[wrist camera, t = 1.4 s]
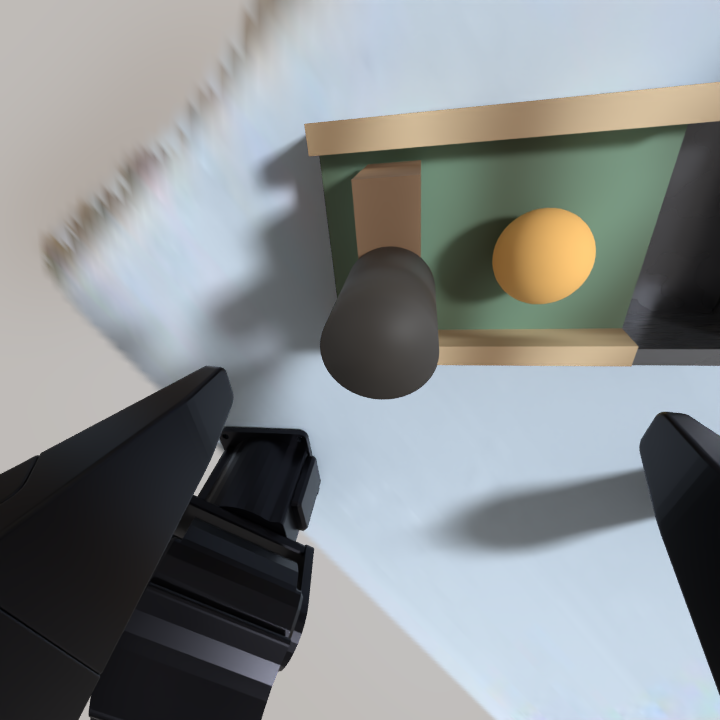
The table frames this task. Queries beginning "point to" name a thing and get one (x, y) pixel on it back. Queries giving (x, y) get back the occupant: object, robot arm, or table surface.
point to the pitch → (522, 209)
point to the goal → (683, 263)
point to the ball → (544, 256)
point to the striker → (385, 291)
